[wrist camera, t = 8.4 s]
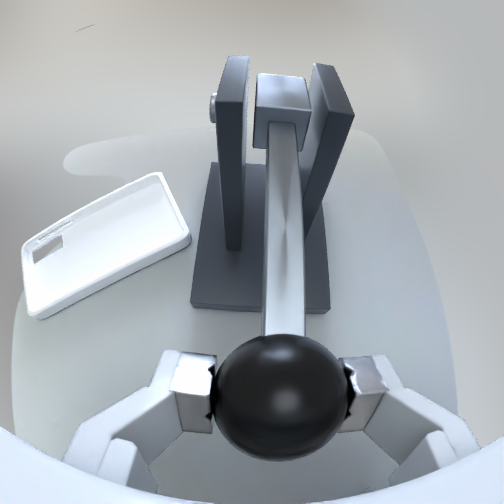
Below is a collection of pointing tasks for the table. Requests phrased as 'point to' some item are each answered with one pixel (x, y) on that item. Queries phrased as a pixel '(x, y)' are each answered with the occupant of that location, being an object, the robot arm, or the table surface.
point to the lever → (281, 309)
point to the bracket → (253, 195)
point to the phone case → (103, 245)
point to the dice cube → (367, 491)
